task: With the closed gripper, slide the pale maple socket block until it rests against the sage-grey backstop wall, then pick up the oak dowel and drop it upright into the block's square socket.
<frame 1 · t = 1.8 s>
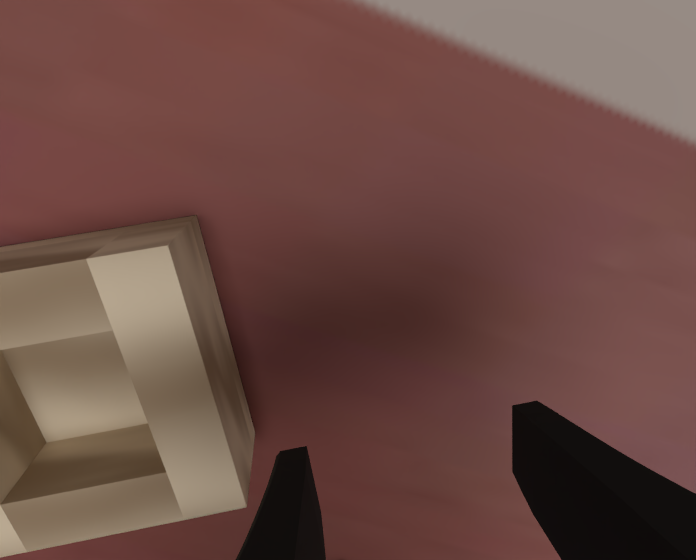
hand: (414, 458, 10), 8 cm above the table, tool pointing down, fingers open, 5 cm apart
socket block: (81, 386, 16), point 2 cm above the table, slide at 0.0 cm
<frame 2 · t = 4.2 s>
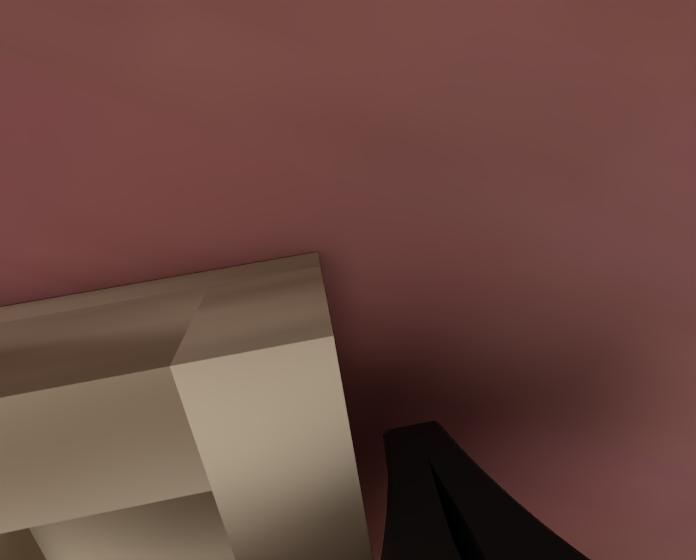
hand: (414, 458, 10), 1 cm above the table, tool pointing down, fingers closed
socket block: (132, 538, 9), point 2 cm above the table, slide at 0.7 cm, touching gripper
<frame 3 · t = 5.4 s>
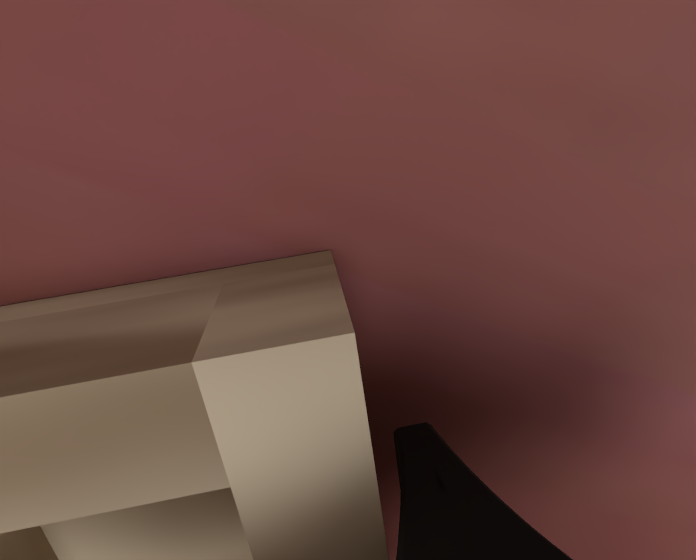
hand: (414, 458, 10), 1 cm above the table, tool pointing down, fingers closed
socket block: (144, 535, 9), point 2 cm above the table, slide at 5.1 cm, touching gripper
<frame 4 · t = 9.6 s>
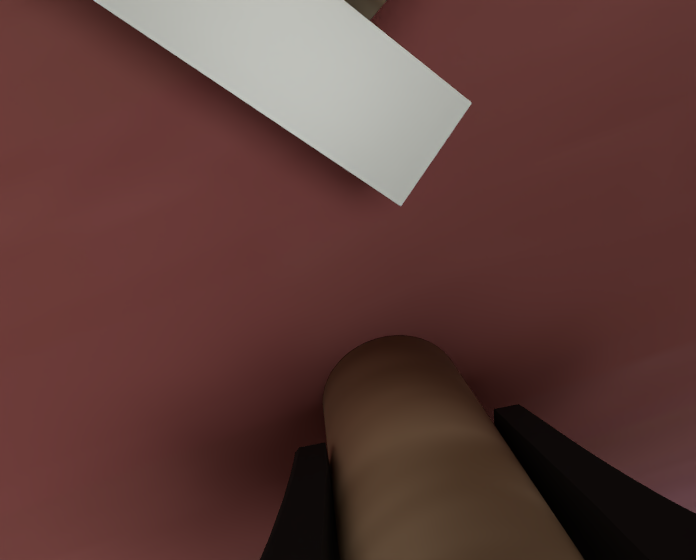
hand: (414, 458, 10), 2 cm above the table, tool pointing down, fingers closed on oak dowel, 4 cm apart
oak dowel: (392, 398, 13), on the table, touching gripper
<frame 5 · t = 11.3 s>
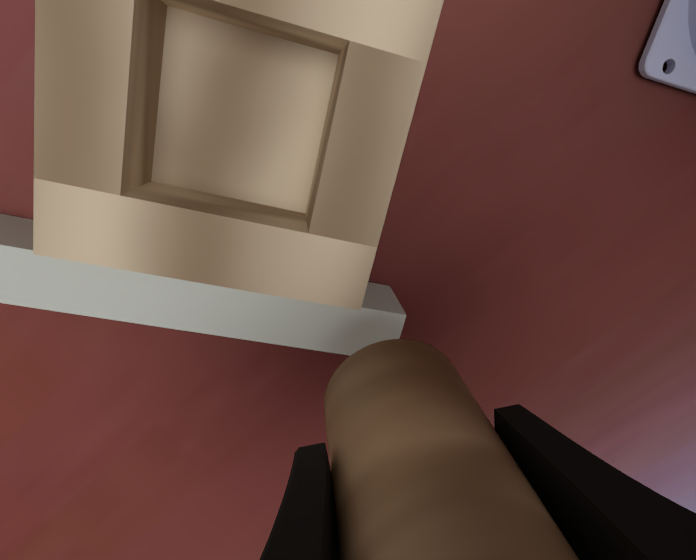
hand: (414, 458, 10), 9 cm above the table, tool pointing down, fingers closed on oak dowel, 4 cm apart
socket block: (239, 119, 14), point 2 cm above the table, slide at 5.0 cm
oak dowel: (393, 400, 13), point 7 cm above the table, touching gripper
backstop wall: (170, 269, 18), on the table
when the fingers open (5 cm above the table, at t = 13.3 s): oak dowel drops 1 cm, resting on socket block.
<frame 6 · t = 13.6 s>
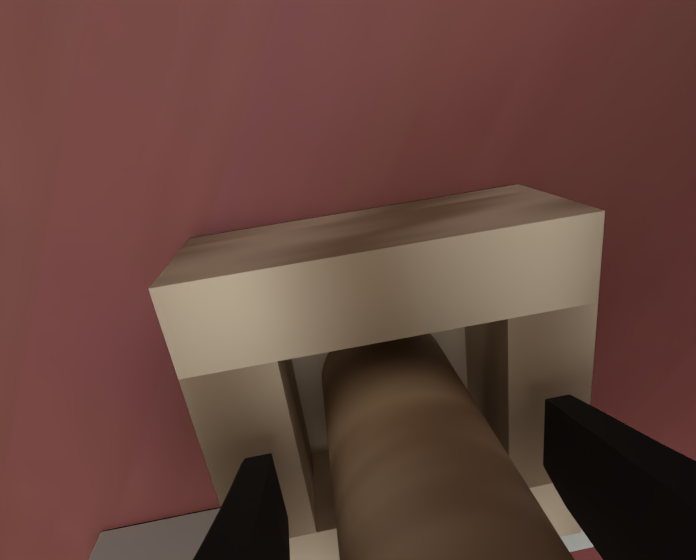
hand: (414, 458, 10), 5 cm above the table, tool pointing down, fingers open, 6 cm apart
socket block: (389, 388, 13), point 2 cm above the table, slide at 5.0 cm, touching oak dowel
oak dowel: (384, 375, 14), point 1 cm above the table, touching socket block
backstop wall: (345, 502, 17), on the table
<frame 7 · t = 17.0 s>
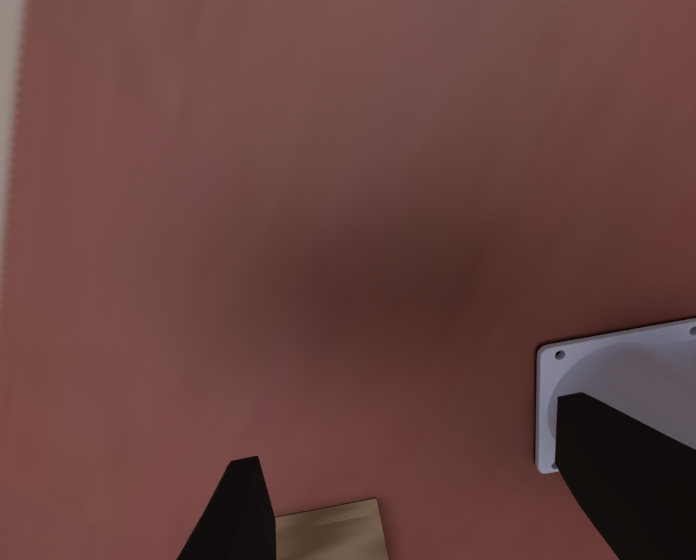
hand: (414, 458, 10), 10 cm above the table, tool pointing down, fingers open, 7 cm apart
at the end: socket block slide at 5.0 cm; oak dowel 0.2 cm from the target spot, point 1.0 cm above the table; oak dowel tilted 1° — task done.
